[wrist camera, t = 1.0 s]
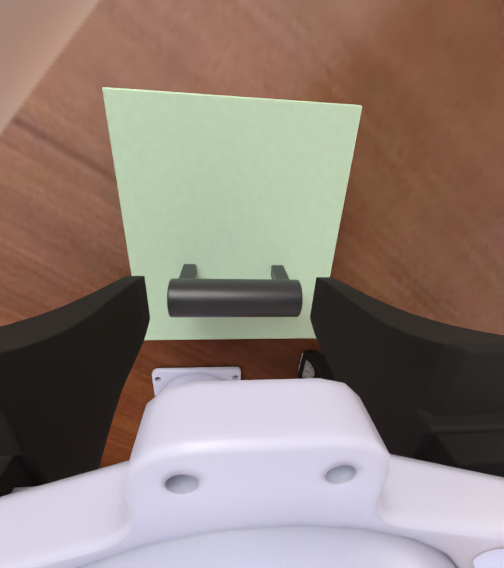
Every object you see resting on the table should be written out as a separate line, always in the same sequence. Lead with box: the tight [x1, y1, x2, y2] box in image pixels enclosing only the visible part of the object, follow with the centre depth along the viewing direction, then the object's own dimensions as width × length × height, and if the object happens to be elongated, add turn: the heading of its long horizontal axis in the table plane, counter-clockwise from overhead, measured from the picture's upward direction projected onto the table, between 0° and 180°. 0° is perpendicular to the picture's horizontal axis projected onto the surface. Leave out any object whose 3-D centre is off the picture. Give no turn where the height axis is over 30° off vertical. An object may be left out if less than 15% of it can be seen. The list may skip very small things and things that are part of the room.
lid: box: [102, 87, 362, 340], centre depth 14 cm, size 13×12×5 cm
